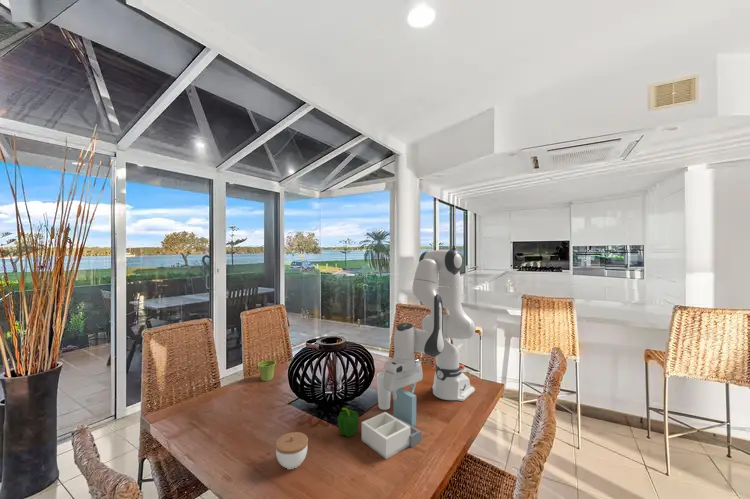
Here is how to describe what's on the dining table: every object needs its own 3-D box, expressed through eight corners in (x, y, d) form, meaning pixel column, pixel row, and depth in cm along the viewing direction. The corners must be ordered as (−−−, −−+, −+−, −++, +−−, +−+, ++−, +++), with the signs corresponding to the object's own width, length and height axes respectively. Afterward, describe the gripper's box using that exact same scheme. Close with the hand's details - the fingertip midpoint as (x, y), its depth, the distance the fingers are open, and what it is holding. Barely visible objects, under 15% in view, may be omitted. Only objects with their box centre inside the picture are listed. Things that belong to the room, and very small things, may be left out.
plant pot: (255, 378, 180) (254, 363, 180) (271, 374, 187) (271, 358, 186) (262, 384, 173) (262, 368, 173) (279, 379, 180) (278, 363, 179)
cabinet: (392, 423, 136) (392, 406, 136) (421, 441, 124) (421, 423, 124) (359, 439, 126) (359, 421, 125) (388, 460, 113) (388, 440, 113)
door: (397, 413, 145) (397, 386, 144) (416, 424, 136) (416, 395, 136) (393, 415, 143) (393, 388, 143) (411, 426, 134) (412, 397, 134)
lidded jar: (279, 454, 117) (279, 428, 117) (309, 452, 118) (309, 426, 117) (272, 475, 106) (272, 446, 106) (306, 473, 107) (305, 445, 107)
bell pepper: (363, 431, 131) (363, 406, 131) (351, 442, 124) (351, 415, 124) (346, 425, 135) (346, 401, 135) (333, 435, 128) (333, 409, 128)
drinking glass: (390, 412, 145) (390, 378, 145) (375, 410, 147) (375, 377, 146) (392, 404, 152) (392, 372, 152) (378, 403, 153) (378, 371, 153)
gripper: (415, 356, 148) (415, 387, 148) (381, 366, 135) (380, 399, 135) (426, 360, 143) (425, 391, 143) (391, 370, 130) (391, 405, 130)
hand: (403, 395), depth 139 cm, fingers open, 8 cm apart
